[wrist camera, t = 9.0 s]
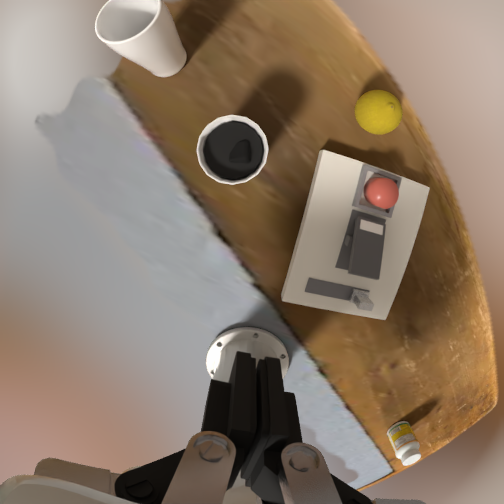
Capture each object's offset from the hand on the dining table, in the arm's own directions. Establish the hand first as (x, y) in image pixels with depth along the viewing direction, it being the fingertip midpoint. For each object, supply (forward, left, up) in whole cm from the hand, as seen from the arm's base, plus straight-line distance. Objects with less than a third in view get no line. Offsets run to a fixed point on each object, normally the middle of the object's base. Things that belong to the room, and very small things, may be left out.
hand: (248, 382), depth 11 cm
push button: (+9, -14, -27) cm, 32 cm away
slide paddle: (-5, -16, -27) cm, 32 cm away
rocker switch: (+2, -14, -25) cm, 28 cm away
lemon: (+19, -11, -29) cm, 36 cm away
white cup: (+9, +4, -29) cm, 31 cm away
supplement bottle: (-34, -40, -29) cm, 60 cm away
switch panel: (+2, -14, -29) cm, 32 cm away
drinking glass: (+20, +16, -29) cm, 39 cm away
